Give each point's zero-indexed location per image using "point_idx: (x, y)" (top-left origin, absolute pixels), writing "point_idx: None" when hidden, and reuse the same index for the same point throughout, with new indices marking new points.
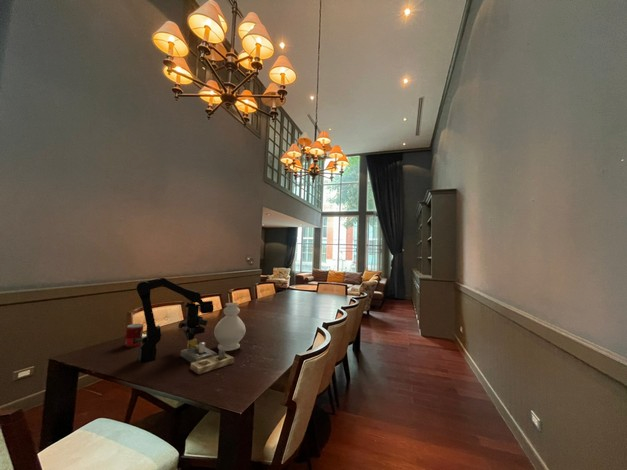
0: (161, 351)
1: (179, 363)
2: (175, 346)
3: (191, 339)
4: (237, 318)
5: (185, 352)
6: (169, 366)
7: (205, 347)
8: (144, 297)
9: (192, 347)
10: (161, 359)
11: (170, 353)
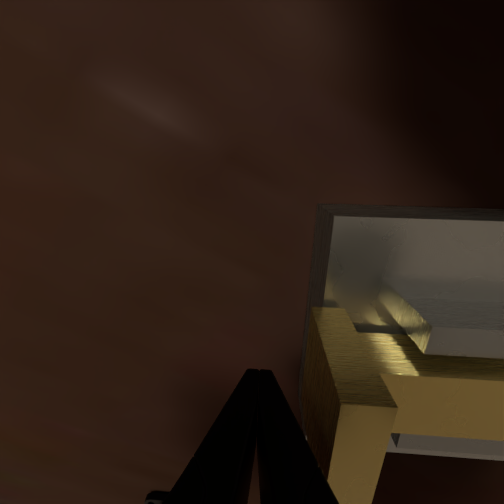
0: (92, 426)
1: None
2: (19, 316)
3: (336, 482)
4: None
5: (403, 450)
6: (415, 499)
7: (480, 225)
8: None
9: (460, 442)
10: (256, 480)
11: (179, 409)
